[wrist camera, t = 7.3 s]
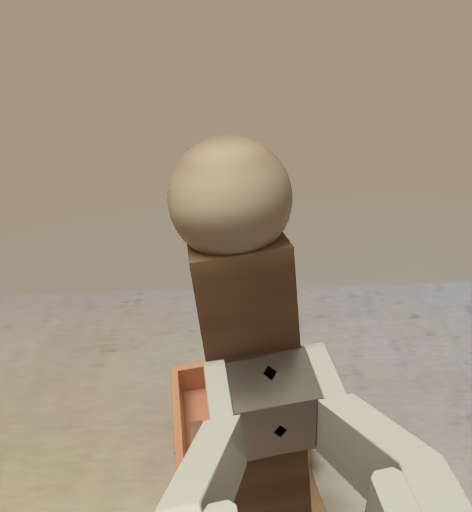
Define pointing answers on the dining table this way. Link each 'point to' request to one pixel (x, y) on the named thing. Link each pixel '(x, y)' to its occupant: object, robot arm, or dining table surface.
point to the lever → (243, 284)
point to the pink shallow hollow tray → (189, 404)
